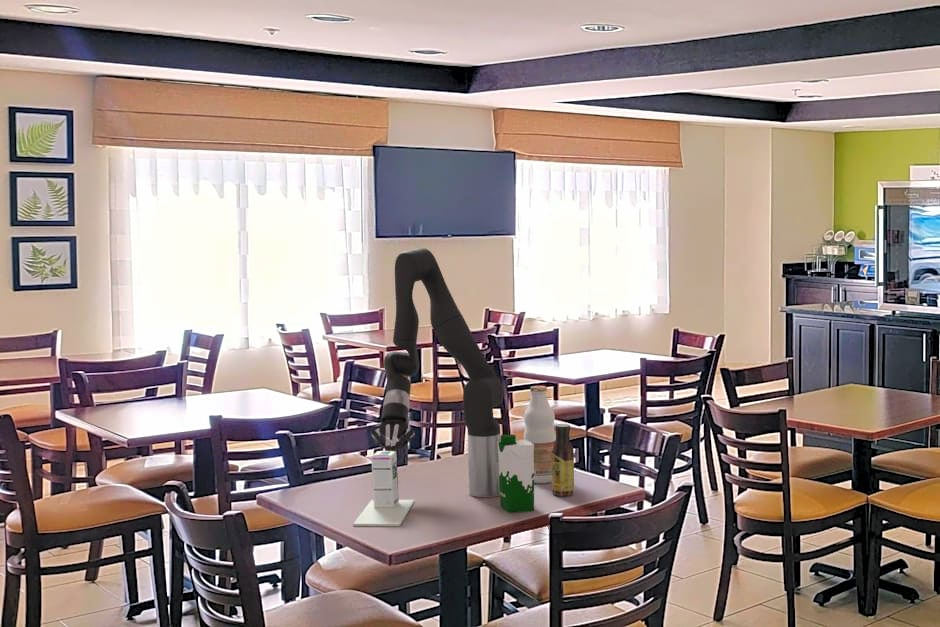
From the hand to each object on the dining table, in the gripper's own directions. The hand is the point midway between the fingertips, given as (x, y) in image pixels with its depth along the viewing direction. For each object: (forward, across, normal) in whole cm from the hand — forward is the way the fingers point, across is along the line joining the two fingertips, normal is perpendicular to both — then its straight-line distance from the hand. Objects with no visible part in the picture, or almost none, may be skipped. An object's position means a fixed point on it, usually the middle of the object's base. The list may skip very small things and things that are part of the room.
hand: (389, 459), depth 294 cm
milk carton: (+15, +36, +2) cm, 39 cm away
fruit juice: (-8, +41, +24) cm, 48 cm away
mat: (+18, +1, -2) cm, 18 cm away
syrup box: (+13, 0, +2) cm, 14 cm away
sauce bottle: (+4, +48, +13) cm, 50 cm away
